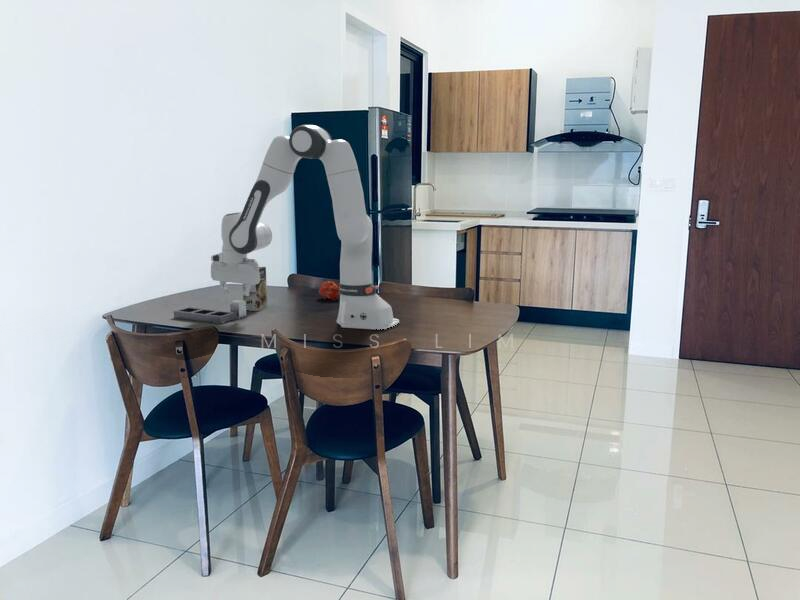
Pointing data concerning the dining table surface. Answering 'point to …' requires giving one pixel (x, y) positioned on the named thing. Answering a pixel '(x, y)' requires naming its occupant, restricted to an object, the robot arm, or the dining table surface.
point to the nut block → (238, 307)
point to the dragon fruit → (329, 290)
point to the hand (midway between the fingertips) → (236, 294)
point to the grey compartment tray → (204, 315)
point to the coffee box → (257, 293)
